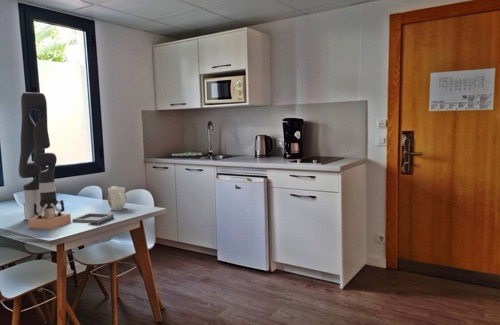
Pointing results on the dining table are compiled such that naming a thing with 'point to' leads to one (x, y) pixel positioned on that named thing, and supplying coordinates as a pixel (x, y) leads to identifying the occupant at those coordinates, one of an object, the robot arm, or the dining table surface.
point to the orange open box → (49, 221)
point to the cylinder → (49, 213)
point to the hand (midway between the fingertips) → (50, 220)
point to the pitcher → (116, 197)
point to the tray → (94, 218)
